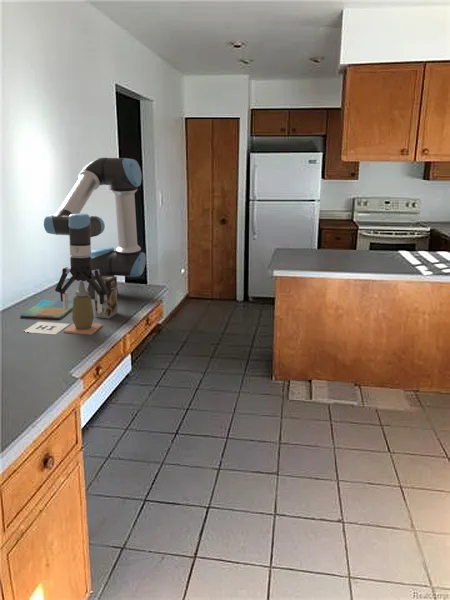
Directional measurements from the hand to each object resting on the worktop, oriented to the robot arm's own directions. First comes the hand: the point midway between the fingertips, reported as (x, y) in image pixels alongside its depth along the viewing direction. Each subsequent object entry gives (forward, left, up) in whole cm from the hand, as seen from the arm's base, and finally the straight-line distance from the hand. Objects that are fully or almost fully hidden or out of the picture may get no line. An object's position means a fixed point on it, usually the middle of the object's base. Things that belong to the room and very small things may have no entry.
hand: (82, 310), depth 193 cm
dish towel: (-20, -23, -8) cm, 31 cm away
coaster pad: (0, 0, -7) cm, 7 cm away
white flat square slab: (+2, -14, -7) cm, 16 cm away
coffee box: (-20, +2, -8) cm, 21 cm away
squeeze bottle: (0, 0, -7) cm, 7 cm away
